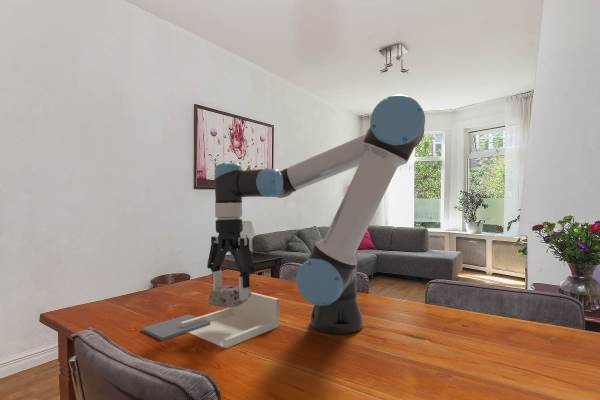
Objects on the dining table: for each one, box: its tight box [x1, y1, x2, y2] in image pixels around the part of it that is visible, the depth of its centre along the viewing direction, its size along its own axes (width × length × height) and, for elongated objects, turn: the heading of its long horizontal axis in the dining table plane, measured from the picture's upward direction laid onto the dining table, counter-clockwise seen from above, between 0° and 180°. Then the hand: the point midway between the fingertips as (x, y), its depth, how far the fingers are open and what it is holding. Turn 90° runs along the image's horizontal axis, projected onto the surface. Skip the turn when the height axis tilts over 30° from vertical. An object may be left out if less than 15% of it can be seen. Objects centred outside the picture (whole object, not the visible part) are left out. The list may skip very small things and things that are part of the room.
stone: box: [208, 284, 252, 308], centre depth 99 cm, size 13×6×10 cm
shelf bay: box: [181, 291, 280, 349], centre depth 99 cm, size 20×19×8 cm
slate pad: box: [141, 314, 210, 341], centre depth 99 cm, size 11×15×1 cm
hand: (230, 296), depth 99 cm, fingers closed on stone, 11 cm apart
